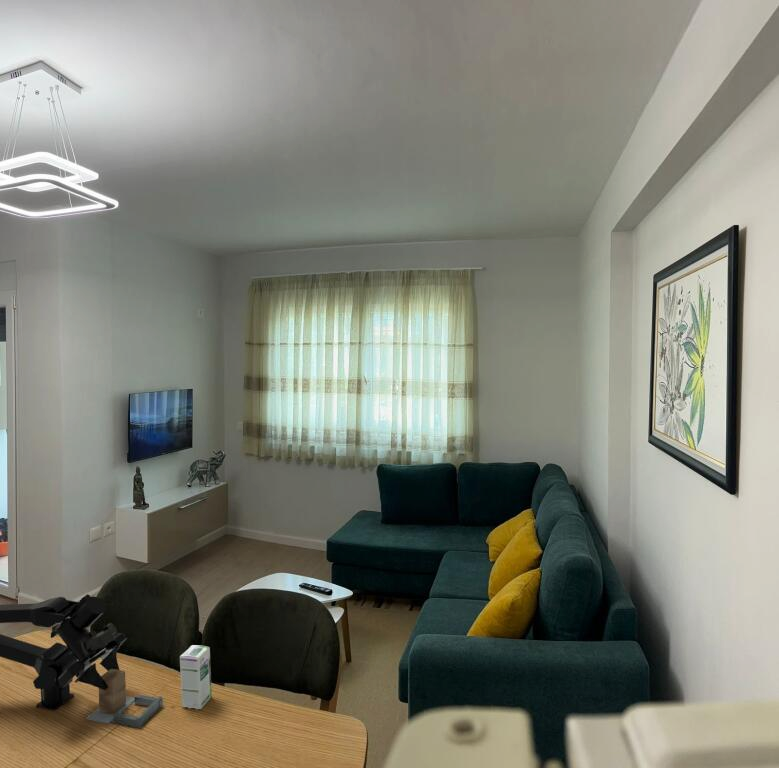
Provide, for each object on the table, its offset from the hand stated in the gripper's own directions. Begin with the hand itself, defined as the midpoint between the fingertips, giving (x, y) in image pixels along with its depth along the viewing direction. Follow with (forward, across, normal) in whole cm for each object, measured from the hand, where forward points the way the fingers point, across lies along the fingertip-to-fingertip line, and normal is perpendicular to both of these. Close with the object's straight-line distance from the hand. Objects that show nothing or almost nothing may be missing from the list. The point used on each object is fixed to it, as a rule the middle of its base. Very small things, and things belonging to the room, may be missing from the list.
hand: (113, 683), depth 143 cm
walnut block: (+4, 0, +5) cm, 7 cm away
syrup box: (+19, +8, -9) cm, 22 cm away
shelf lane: (+10, 0, 0) cm, 11 cm away
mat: (+5, 0, +6) cm, 7 cm away
